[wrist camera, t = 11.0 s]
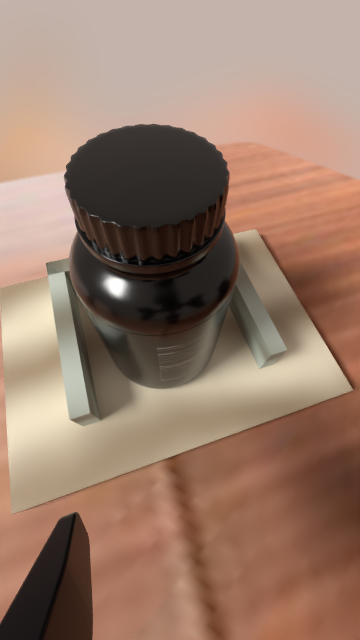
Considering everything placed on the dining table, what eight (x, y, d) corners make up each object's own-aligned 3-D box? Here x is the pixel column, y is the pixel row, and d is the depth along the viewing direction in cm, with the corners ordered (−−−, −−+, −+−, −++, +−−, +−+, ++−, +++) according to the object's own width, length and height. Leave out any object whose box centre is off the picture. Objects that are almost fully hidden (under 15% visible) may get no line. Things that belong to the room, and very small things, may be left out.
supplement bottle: (215, 300, 20) (265, 113, 10) (212, 397, 17) (280, 276, 6) (119, 291, 20) (64, 96, 10) (98, 386, 17) (-18, 249, 7)
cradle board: (344, 393, 19) (379, 378, 15) (20, 511, 15) (-18, 522, 12) (252, 237, 25) (264, 204, 21) (6, 295, 21) (-22, 265, 18)
